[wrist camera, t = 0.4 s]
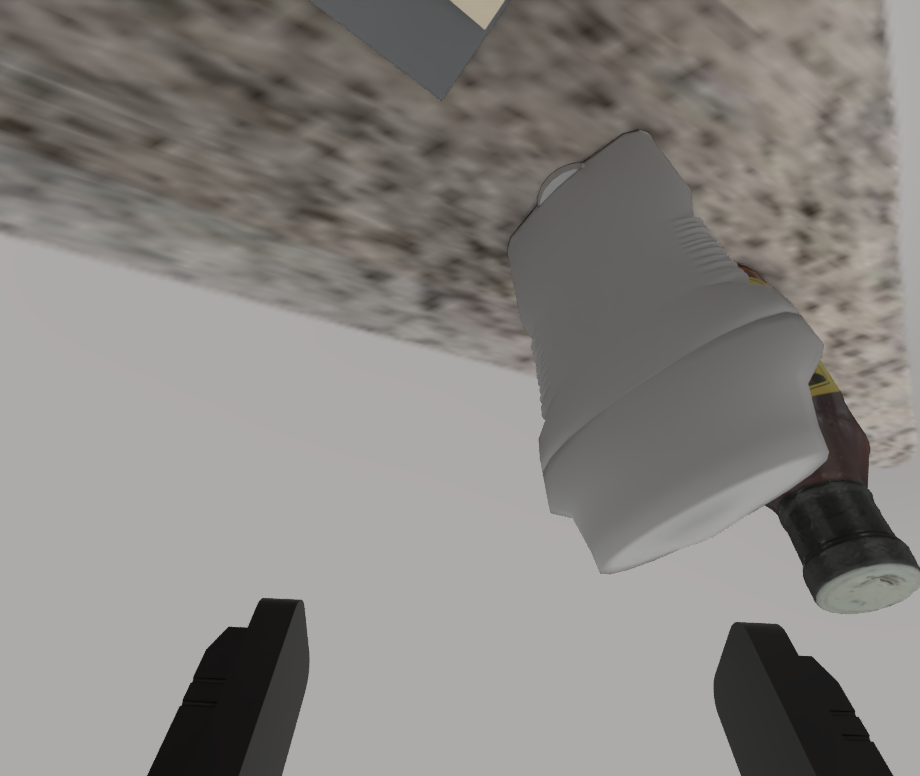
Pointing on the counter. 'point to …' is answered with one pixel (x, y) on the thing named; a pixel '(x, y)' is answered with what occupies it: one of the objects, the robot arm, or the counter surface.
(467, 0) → the beige rectangular prism
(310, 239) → the counter surface
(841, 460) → the sauce bottle
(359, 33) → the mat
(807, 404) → the tall pale column
